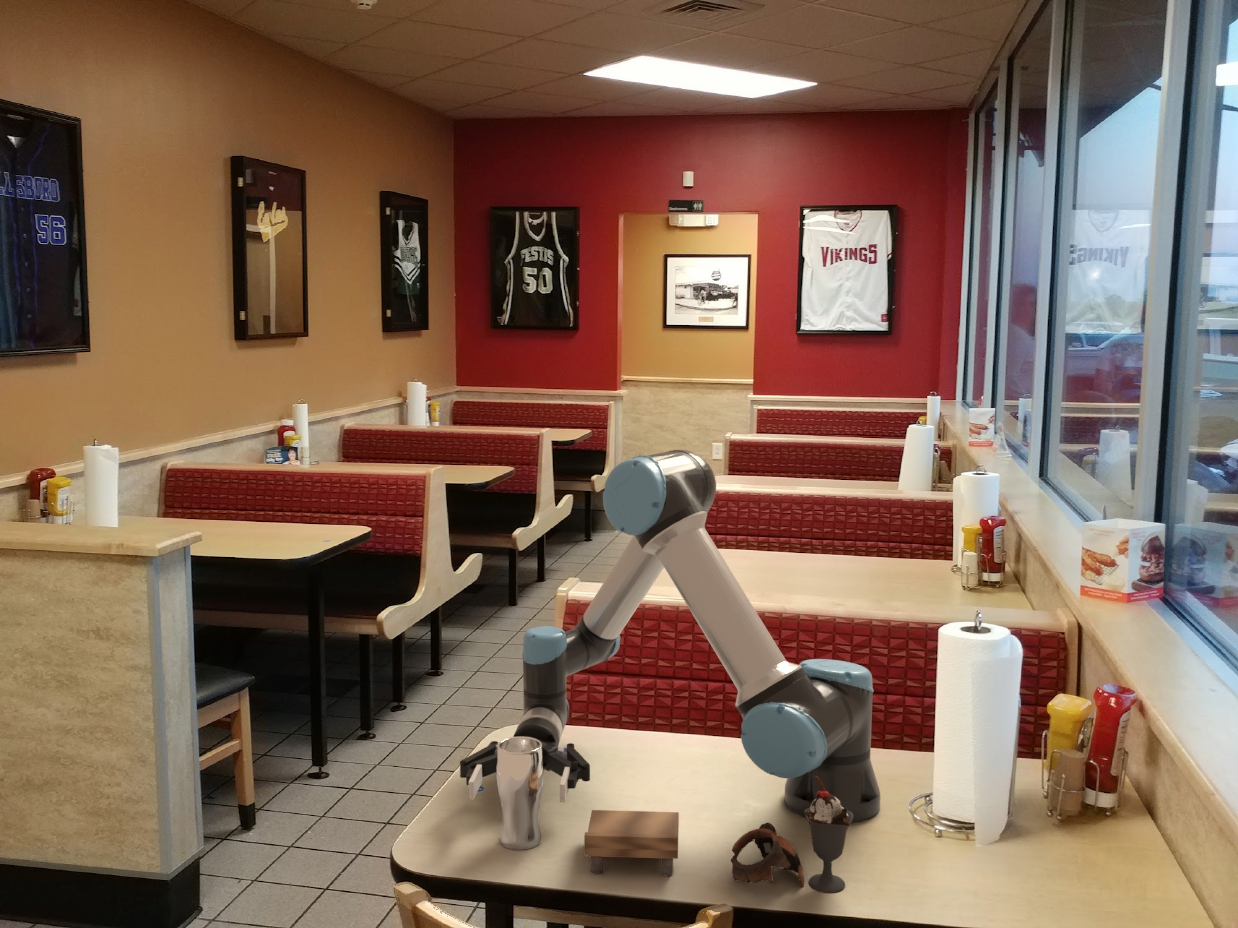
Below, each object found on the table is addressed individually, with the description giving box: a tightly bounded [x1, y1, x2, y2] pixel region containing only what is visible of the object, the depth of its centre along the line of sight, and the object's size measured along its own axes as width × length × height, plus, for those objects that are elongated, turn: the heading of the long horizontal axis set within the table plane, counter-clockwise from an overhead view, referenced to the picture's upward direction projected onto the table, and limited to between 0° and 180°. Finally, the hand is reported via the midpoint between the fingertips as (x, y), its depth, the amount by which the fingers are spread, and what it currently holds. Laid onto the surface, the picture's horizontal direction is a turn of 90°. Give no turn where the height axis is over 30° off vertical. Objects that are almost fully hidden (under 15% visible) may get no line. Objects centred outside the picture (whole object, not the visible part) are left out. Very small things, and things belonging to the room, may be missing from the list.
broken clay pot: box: [730, 822, 806, 888], centre depth 154 cm, size 12×10×8 cm
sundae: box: [803, 776, 853, 894], centre depth 152 cm, size 7×7×15 cm
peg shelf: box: [583, 809, 680, 877], centre depth 160 cm, size 13×12×6 cm
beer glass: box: [495, 736, 545, 851], centre depth 164 cm, size 7×7×15 cm
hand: (516, 792), depth 163 cm, fingers open, 13 cm apart
